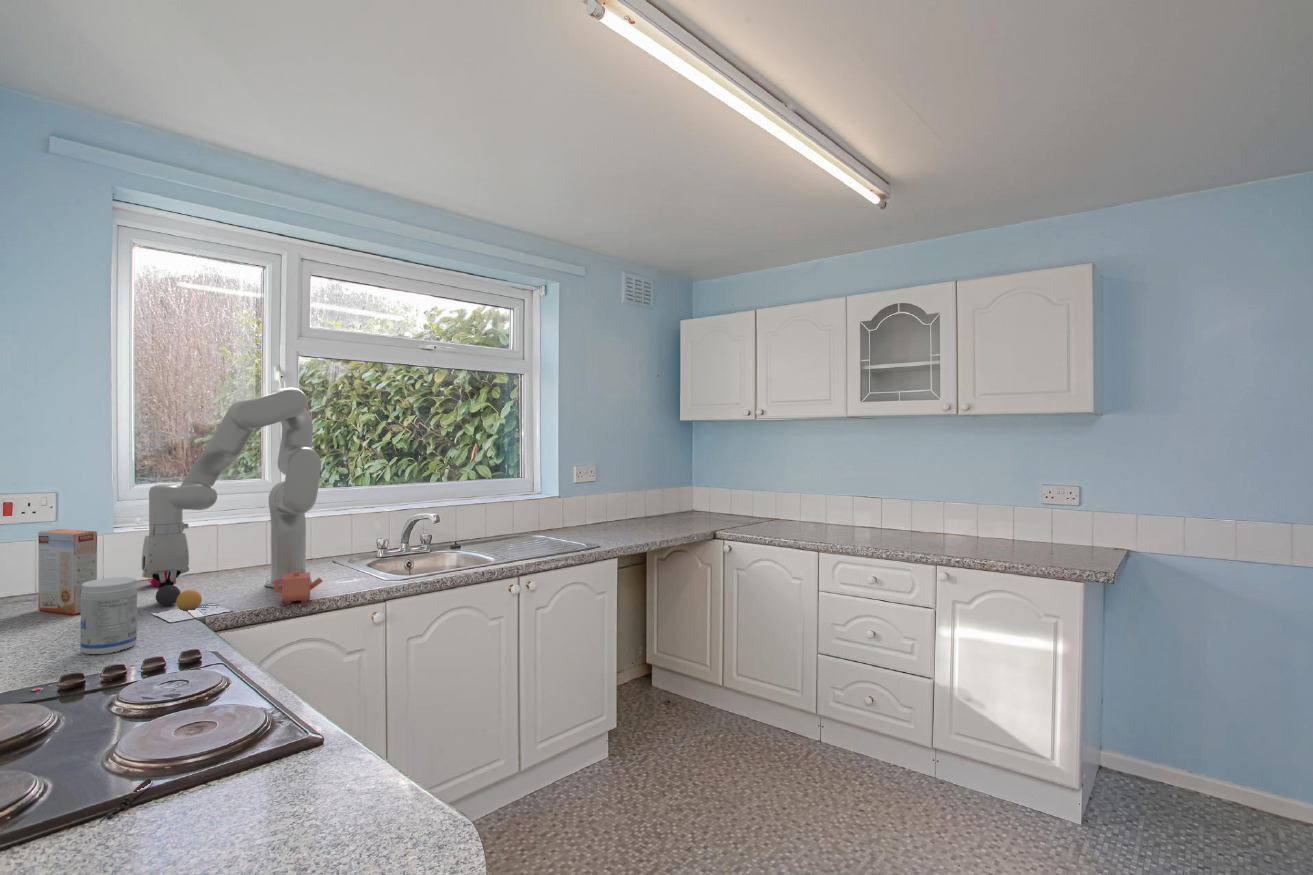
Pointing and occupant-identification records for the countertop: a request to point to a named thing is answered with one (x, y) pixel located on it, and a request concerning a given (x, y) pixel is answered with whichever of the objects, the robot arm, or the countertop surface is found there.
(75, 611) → the cracker box
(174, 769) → the countertop surface
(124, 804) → the can opener
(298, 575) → the pink cube teapot
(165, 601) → the dark grey ball
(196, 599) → the orange ball
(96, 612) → the supplement tub
